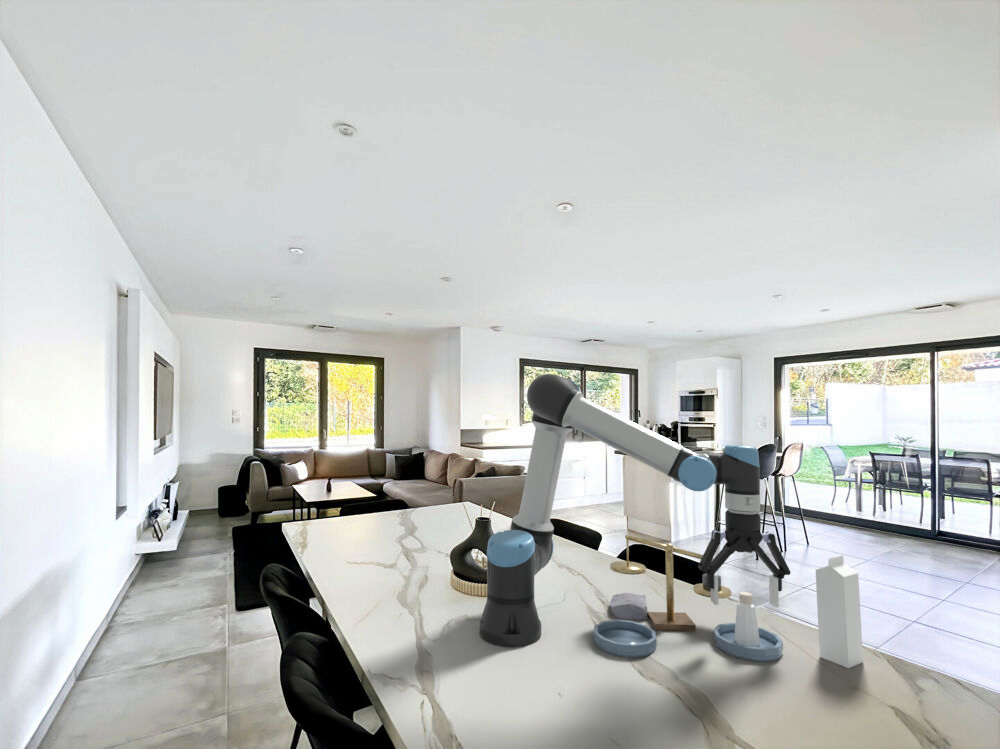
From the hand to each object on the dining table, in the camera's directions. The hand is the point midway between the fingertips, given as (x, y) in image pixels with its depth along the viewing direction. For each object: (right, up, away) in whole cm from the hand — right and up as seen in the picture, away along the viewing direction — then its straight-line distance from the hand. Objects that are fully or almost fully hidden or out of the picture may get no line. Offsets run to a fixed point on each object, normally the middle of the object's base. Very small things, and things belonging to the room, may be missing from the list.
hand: (744, 604), depth 117 cm
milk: (+18, -9, -7) cm, 21 cm away
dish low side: (0, -10, -1) cm, 10 cm away
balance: (-13, -11, +12) cm, 21 cm away
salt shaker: (0, -9, -1) cm, 9 cm away
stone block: (-22, -12, +21) cm, 32 cm away
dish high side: (-28, -9, 0) cm, 29 cm away
